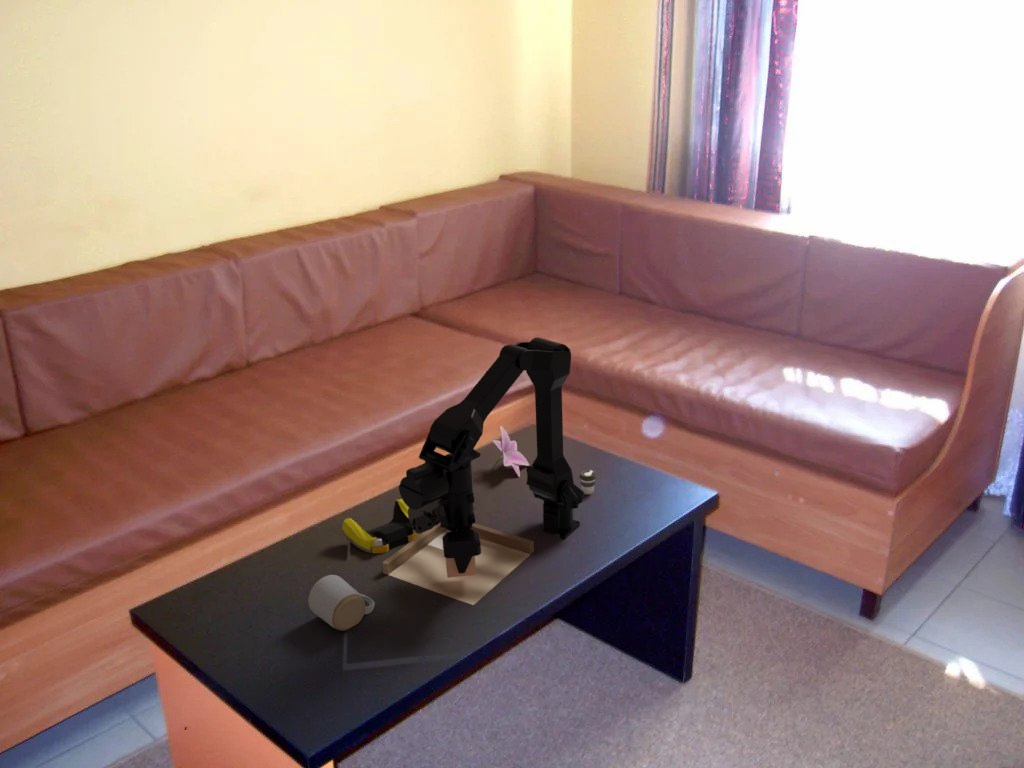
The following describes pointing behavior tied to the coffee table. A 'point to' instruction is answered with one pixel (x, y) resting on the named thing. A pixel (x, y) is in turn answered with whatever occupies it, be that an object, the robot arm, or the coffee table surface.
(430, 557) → the arena
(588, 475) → the coffee cup
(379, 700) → the coffee table surface
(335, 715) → the coffee table surface
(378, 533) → the gaming controller
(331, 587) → the ceramic mug
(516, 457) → the lily
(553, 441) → the robot arm
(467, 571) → the cube
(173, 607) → the coffee table surface
